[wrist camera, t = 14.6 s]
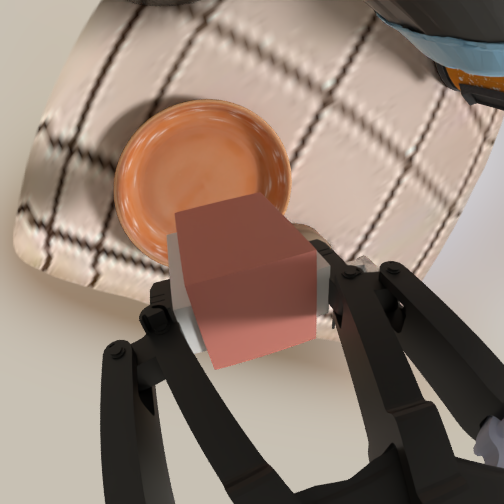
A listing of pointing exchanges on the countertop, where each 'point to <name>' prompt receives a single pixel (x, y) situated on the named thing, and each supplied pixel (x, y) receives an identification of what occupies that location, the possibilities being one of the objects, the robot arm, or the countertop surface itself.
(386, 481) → the robot arm
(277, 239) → the block
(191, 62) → the countertop surface
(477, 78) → the canister
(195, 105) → the saucer
